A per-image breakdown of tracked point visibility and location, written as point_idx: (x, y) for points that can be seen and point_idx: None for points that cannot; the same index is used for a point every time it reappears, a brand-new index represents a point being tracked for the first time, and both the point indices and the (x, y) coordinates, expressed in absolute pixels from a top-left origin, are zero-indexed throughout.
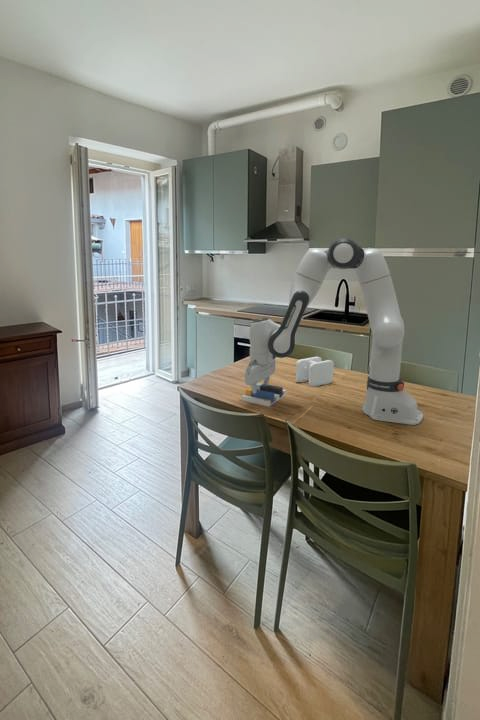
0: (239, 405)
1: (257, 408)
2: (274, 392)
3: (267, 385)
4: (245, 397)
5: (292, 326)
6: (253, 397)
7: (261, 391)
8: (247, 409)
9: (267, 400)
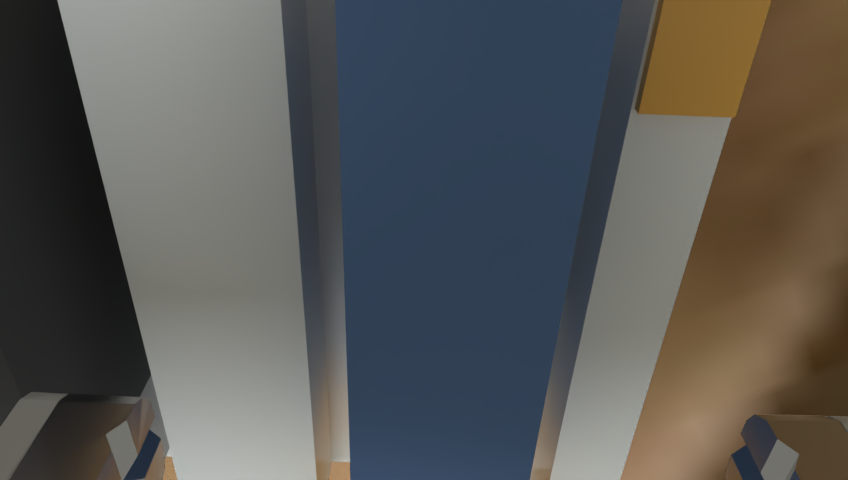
0: (696, 420)
1: (749, 141)
2: (10, 113)
3: (79, 408)
4: (611, 477)
5: None
6: (595, 378)
7: (429, 369)
8: (841, 267)
9: (727, 12)
